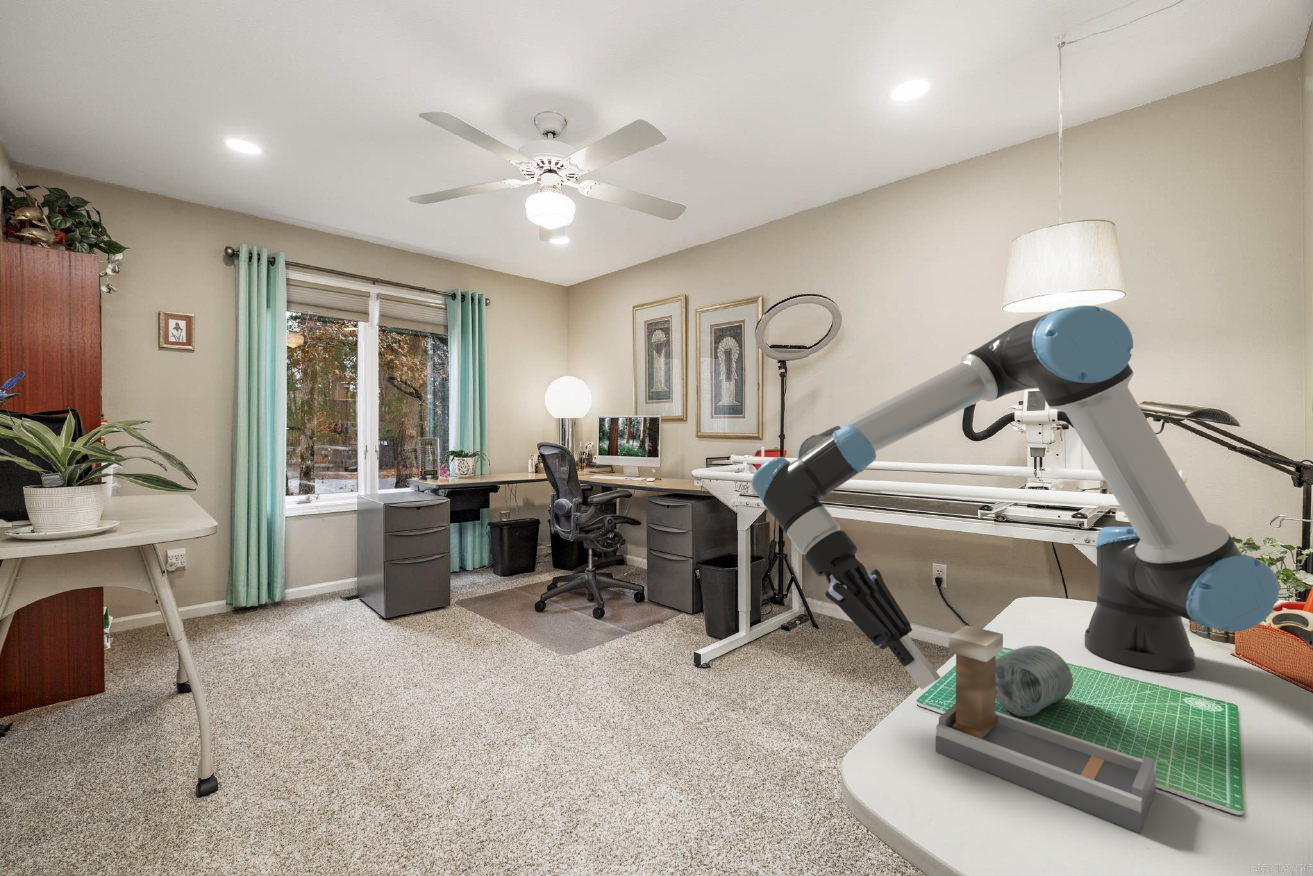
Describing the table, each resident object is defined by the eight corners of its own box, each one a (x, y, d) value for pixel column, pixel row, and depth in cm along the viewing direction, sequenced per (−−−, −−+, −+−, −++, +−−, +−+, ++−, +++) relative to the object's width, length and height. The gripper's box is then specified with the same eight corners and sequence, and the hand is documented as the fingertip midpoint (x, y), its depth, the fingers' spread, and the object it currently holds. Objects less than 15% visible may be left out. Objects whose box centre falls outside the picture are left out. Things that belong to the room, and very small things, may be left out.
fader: (946, 730, 73) (947, 637, 73) (967, 712, 78) (967, 624, 77) (984, 744, 70) (985, 647, 69) (1003, 724, 74) (1004, 632, 74)
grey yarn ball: (1046, 713, 76) (1021, 634, 81) (981, 718, 83) (962, 645, 88) (1103, 716, 81) (1077, 642, 86) (1037, 720, 89) (1017, 652, 94)
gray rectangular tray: (935, 751, 73) (935, 720, 73) (965, 723, 79) (965, 695, 79) (1140, 833, 58) (1140, 794, 58) (1155, 790, 65) (1155, 755, 64)
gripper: (829, 551, 96) (931, 682, 84) (783, 563, 87) (889, 712, 75) (859, 523, 92) (970, 657, 80) (814, 533, 83) (931, 685, 71)
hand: (931, 683), depth 78 cm, fingers closed
